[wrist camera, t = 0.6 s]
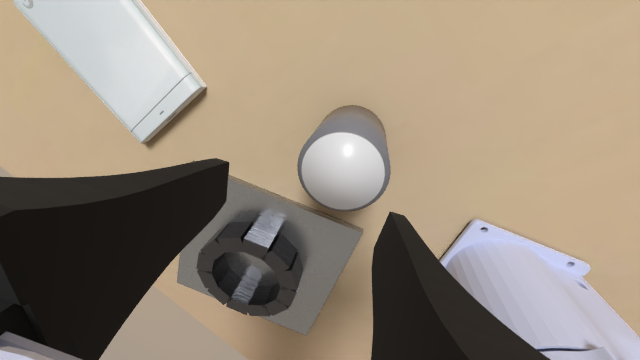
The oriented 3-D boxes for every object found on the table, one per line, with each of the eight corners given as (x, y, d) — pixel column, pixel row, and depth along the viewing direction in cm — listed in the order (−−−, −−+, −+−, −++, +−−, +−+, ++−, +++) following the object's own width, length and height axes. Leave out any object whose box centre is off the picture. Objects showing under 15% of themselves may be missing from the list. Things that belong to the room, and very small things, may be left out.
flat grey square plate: (363, 229, 22) (361, 252, 20) (307, 330, 30) (301, 357, 27) (193, 160, 23) (169, 174, 20) (180, 278, 30) (161, 300, 27)
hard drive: (9, 3, 18) (138, 145, 22) (55, -96, 15) (198, 88, 18) (36, 7, 20) (153, 139, 23) (83, -82, 17) (211, 85, 20)
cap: (397, 120, 18) (408, 150, 12) (368, 179, 20) (366, 226, 15) (331, 94, 18) (312, 111, 12) (309, 156, 20) (285, 194, 15)
